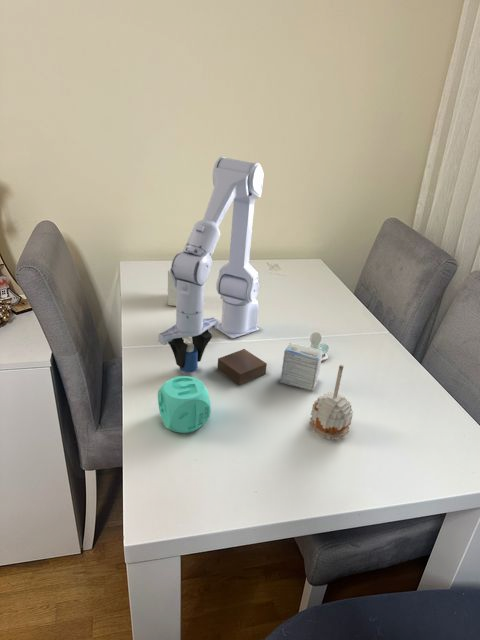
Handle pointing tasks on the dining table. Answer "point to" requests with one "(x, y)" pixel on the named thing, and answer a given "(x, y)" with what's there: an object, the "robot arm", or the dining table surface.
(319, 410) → the caramel apple
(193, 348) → the blue bottle
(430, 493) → the dining table surface
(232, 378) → the walnut block
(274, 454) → the dining table surface
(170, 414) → the decorative dice
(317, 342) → the pacifier
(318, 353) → the medicine box
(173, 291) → the small box
